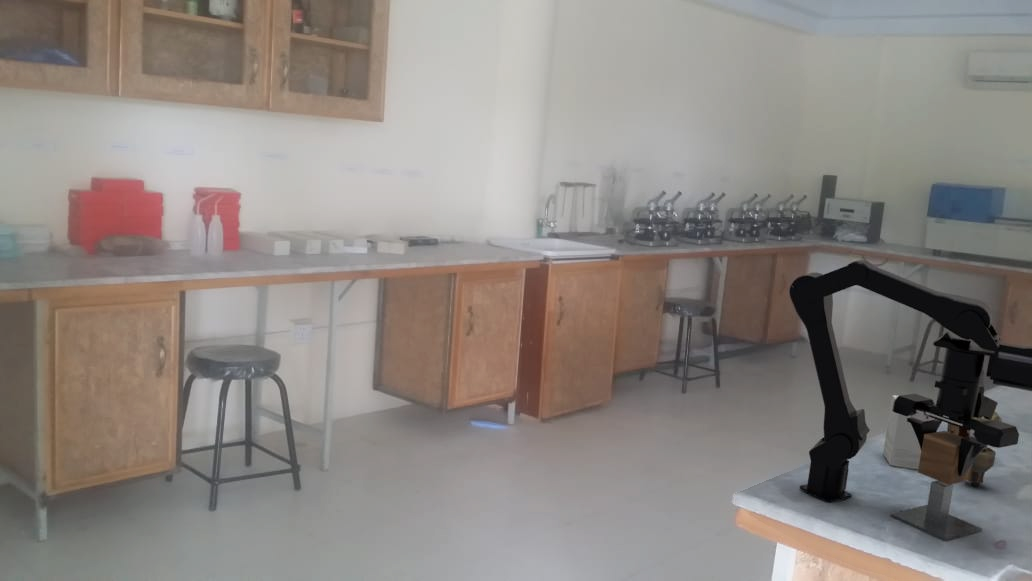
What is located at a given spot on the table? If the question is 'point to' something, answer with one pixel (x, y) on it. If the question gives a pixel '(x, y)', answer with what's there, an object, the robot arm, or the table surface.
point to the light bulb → (982, 458)
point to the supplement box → (901, 441)
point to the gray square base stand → (937, 515)
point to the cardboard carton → (942, 457)
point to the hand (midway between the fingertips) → (944, 469)
